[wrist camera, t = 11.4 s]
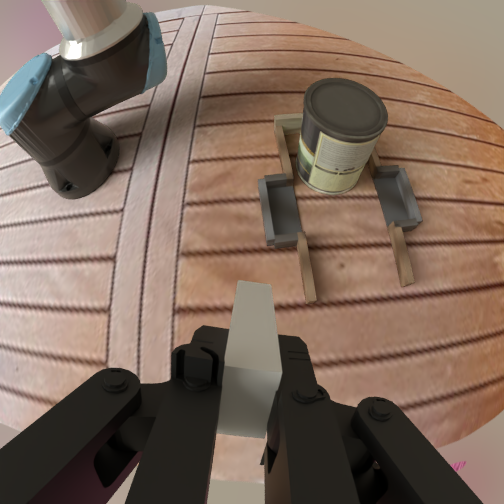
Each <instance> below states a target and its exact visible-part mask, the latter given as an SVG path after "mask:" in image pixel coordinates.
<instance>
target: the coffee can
mask: <svg viewBox="0 0 504 504" xmlns="http://www.w3.org/2000/svg"><path fill="white" fill-rule="evenodd" d="M387 121H388V114H387V110H386V107H385V105H384V104H383V102H382V101H381V99H380V98H379V97H378V96H377V95H376V94H375V93H374V92H373V91H371V90H370V89H369V88H367V87H365V86H364V85H362V84H359V83H357V82H355V81H351V80H348V79H341V78H328V79H323V80H320V81H317V82H315V83H313V84H312V85H311V86H310V87H309V88H308V89H307V90H306V92H305V95H304V109H303V117H302V125H301V132H300V139H299V146H298V154H297V158H296V169H297V173H298V175H299V177H300V178H301V180H302V181H303V182H304V183H305V184H306V185H307V186H308V187H310V188H311V189H313V190H315V191H317V192H319V193H323V194H328V195H337V194H342V193H345V192H347V191H349V190H350V189H352V188H353V187H354V186H355V184H356V183H357V181H358V179H359V176H360V174H361V172H362V170H363V168H364V166H365V164H366V162H367V161H368V159H369V156H370V155H371V153H372V151H373V149H374V146H375V145H376V142H377V140H378V138H379V136H380V134H381V133H382V132H383V130H384V129H385V127H386V125H387Z"/></svg>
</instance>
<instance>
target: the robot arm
mask: <svg viewBox="0 0 504 504" xmlns="http://www.w3.org/2000/svg"><path fill="white" fill-rule="evenodd" d="M41 1H42V2H43V4H44V6H45V7H46V9H47V11H48V12H49V14H50V15H51V17H52V19H53V21H54V22H55V24H56V25H57V27H58V29H59V30H60V32H61V34H62V35H63V39H62V41H61V44H60V47H59V53H60V55H59V56H58V57H56V58H54V59H52V57H51V55H49V54H47V53H42V54H40V55H37V56H35V57H34V58H32V59H31V60H30V61H28V62H27V63H26V64H25V65H24V66H23V67H22V68H21V69H20V70H19V71H18V72H17V73H16V74H15V75H14V76H13V77H12V79H11V80H10V81H9V82H8V84H7V85H6V87H5V88H4V90H3V91H2V93H1V95H0V126H1V128H2V129H3V130H4V131H5V133H6V135H9V136H10V137H11V138H12V139H13V140H14V141H15V142H16V143H17V144H18V145H19V146H20V147H21V148H22V149H23V150H25V151H26V152H27V153H28V154H29V155H30V156H31V157H32V158H33V159H34V160H35V161H37V162H38V163H39V164H40V165H41V167H42V169H43V172H44V174H45V176H46V178H47V180H48V182H49V184H50V186H51V188H52V189H53V190H54V191H55V192H56V193H58V194H59V195H60V196H61V197H63V198H66V199H77V198H80V197H83V196H85V195H87V194H89V193H91V192H92V191H94V190H95V189H96V188H98V187H99V186H100V185H101V184H102V183H103V182H104V181H105V180H106V179H107V177H108V176H109V175H110V173H111V172H112V170H113V168H114V166H115V164H116V162H117V159H118V155H119V143H118V140H117V138H116V136H115V135H114V133H113V132H112V131H111V130H110V129H109V128H108V127H107V126H105V125H104V124H102V123H100V122H99V121H97V120H95V119H94V118H92V116H94V115H96V114H98V113H100V112H102V111H104V110H106V109H108V108H110V107H112V106H114V105H116V104H119V103H121V102H123V101H125V100H127V99H130V98H132V97H134V96H136V95H139V94H143V93H144V92H145V91H146V90H148V89H151V88H153V87H155V86H157V85H159V84H160V83H162V82H163V81H164V80H165V78H166V75H167V60H166V53H165V48H164V43H163V41H162V35H161V30H160V26H159V23H158V20H157V18H156V16H155V14H154V13H152V12H149V13H143V10H142V8H141V7H140V6H139V5H137V4H135V3H130V2H126V0H41ZM308 353H309V352H308V349H307V345H306V344H305V343H304V342H303V341H302V339H301V338H300V337H296V336H287V335H278V334H277V326H276V318H275V311H274V303H273V295H272V288H271V284H263V283H256V282H249V281H242V280H238V283H237V289H236V295H235V300H234V306H233V312H232V318H231V323H230V329H224V328H218V327H211V326H205V325H203V326H201V327H200V328H199V329H197V330H196V331H195V332H194V335H193V337H192V340H191V343H190V344H184V345H181V346H179V347H177V348H175V349H174V351H173V352H172V354H171V380H169V381H167V382H163V383H155V384H140V380H139V379H138V377H137V376H136V375H135V374H134V373H132V372H131V371H129V370H125V369H122V368H108V369H103V370H101V371H99V372H97V373H95V374H94V375H93V376H92V377H90V378H89V379H88V380H87V381H85V382H84V383H83V384H82V385H80V386H79V387H78V388H77V389H75V390H74V391H73V392H71V393H70V394H69V395H68V396H66V397H65V398H64V399H63V400H61V401H60V402H59V403H58V404H56V405H55V406H54V407H53V408H51V409H50V410H49V411H48V412H46V413H45V414H44V415H42V416H41V417H40V418H39V419H37V420H36V421H35V422H34V423H32V424H31V425H30V426H29V427H27V428H26V429H25V430H24V431H22V432H21V433H20V434H19V435H17V436H16V437H15V438H14V439H12V440H11V441H10V442H9V443H7V444H6V445H5V446H3V447H2V448H1V449H0V504H106V503H107V502H108V501H109V499H110V498H111V497H112V496H113V495H114V493H115V492H116V491H117V490H118V488H119V487H120V486H121V484H122V483H123V482H124V481H125V479H126V478H127V477H128V476H129V474H130V473H131V472H132V470H133V469H134V468H135V467H136V465H137V464H138V463H139V465H138V467H137V470H136V473H135V476H134V479H133V482H132V484H131V487H130V490H129V493H128V496H127V499H126V501H125V504H207V498H208V491H209V484H210V476H211V469H212V462H213V455H214V448H215V440H216V433H219V434H226V435H234V436H243V437H253V438H265V435H266V431H267V443H266V447H265V450H264V453H263V456H262V459H261V463H260V465H264V469H265V504H483V503H482V501H481V500H480V499H479V498H478V497H477V496H476V495H475V493H474V492H473V491H472V490H471V489H470V488H469V487H468V485H467V484H466V483H465V482H464V481H463V480H462V479H461V477H460V476H459V475H458V474H457V473H456V472H455V471H454V469H453V468H452V467H451V466H450V465H449V464H448V463H447V461H445V459H444V458H443V457H442V456H441V455H440V453H439V452H438V451H437V450H436V449H435V448H434V447H433V446H432V444H431V443H430V442H429V441H428V440H427V439H426V438H425V436H424V435H423V434H422V433H421V432H420V431H419V430H418V429H417V427H416V426H415V425H414V424H413V423H412V422H411V421H410V419H409V418H408V417H407V416H406V415H405V414H404V413H403V412H402V410H401V409H400V408H399V407H398V406H397V405H395V404H394V403H393V402H392V401H389V400H387V399H385V398H380V397H368V398H365V399H363V400H362V401H361V402H360V403H359V404H358V406H357V407H352V406H348V405H343V404H340V403H336V402H334V401H332V400H331V399H330V396H329V394H328V392H327V391H326V390H325V389H324V388H323V387H321V386H320V385H318V384H317V381H316V378H315V374H314V370H313V367H312V363H311V361H310V360H311V359H310V356H309V354H308ZM139 461H140V462H139ZM376 462H377V463H376Z"/></svg>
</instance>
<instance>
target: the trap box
mask: <svg viewBox="0 0 504 504" xmlns="http://www.w3.org/2000/svg"><path fill="white" fill-rule="evenodd" d="M302 117H303V113H296V114H282V115H274V133H275V137H276V142H277V147H278V151H279V156H280V161H281V166H282V171H283V174H274V175H265V179H258V189H259V195H260V202H261V209H262V215H263V222H264V229H265V236H266V243H267V246H271V245H274V246H275V249H276V248H283V247H291V246H297V250H298V256H299V262H300V268H301V274H302V280H303V287H304V293H305V300H306V304H310V303H314V302H315V301H317V298H316V292H315V286H314V280H313V274H312V268H311V263H310V257H309V252H308V246H307V241H306V235H305V232H302V230H301V225H300V219H299V214H298V209H297V204H296V199H295V194H294V190H293V181H294V176H293V172H292V167H291V163H290V158H289V154H288V150H287V146H286V141H285V137H284V135H287V134H299V133H300V132H301V125H302ZM367 164H368V166H369V169H370V172H371V175H372V178H373V181H374V184H375V187H376V191H377V194H378V197H379V200H380V204H381V207H382V210H383V214H384V217H385V221H386V225H387V228H388V232H389V236H390V240H391V244H392V248H393V252H394V256H395V261H396V265H397V269H398V274H399V279H400V284H401V287H405V286H408V285H410V284H413V283H415V281H414V277H413V272H412V268H411V263H410V259H409V255H408V251H407V247H406V243H405V239H404V235H403V232H406V231H411V230H413V229H414V228H415V227H416V226H417V225H418V224H420V223H421V222H422V217H421V214H420V211H419V208H418V205H417V202H416V199H415V196H414V193H413V190H412V187H411V184H410V182H409V179H408V176H407V174H406V171H405V168H399V166H398V165H393V166H382V165H381V163H380V160H379V157H378V155H377V152H376V150H375V147H374V149H373V151H372V153H371V155H370V156H369V159H368V161H367Z"/></svg>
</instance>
